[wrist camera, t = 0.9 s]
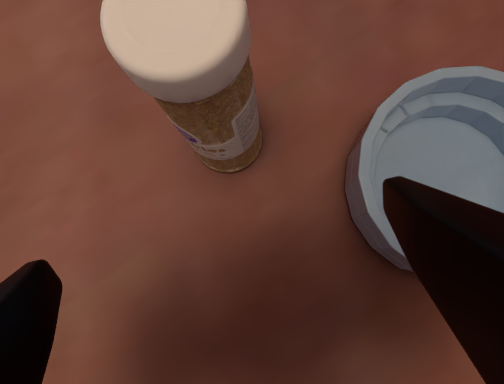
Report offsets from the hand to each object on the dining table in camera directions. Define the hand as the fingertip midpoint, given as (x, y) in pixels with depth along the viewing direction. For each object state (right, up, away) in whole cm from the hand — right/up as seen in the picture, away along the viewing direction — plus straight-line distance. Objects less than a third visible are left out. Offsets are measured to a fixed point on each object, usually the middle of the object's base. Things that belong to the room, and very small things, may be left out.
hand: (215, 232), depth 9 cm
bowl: (+12, +1, +13) cm, 18 cm away
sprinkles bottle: (-1, +4, +15) cm, 15 cm away
